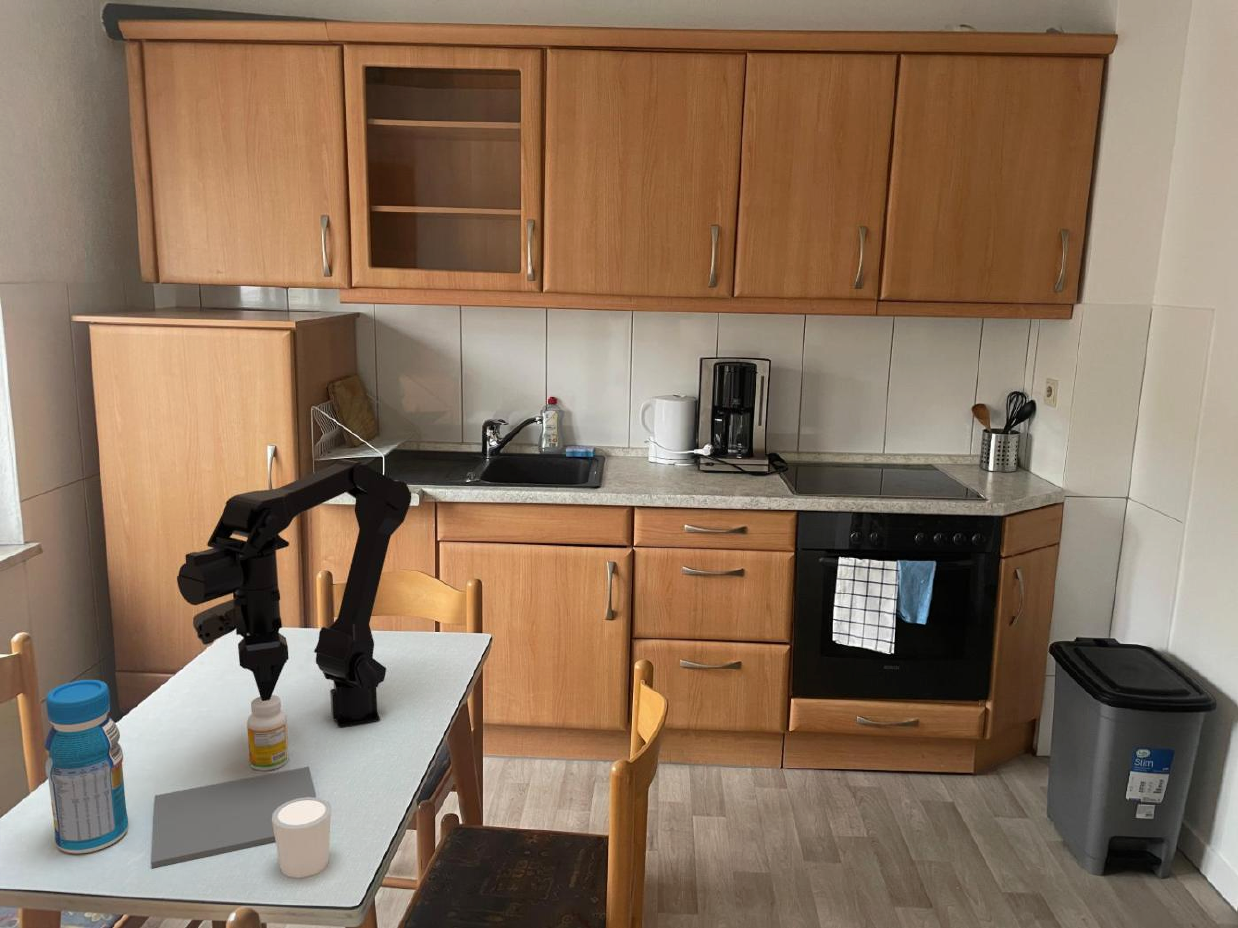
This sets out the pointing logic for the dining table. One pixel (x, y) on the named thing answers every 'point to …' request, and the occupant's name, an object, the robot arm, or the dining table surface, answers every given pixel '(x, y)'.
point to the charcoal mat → (222, 815)
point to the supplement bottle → (267, 734)
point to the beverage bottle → (84, 768)
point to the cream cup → (302, 836)
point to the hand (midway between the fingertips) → (263, 686)
